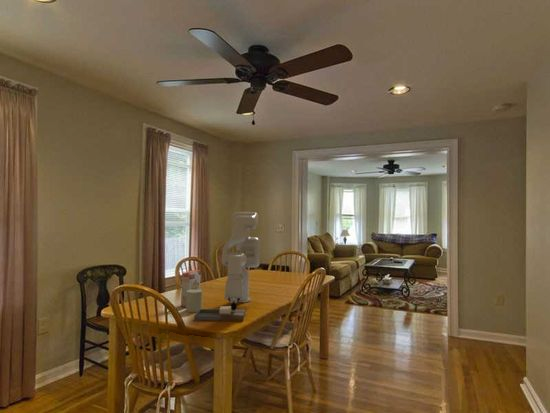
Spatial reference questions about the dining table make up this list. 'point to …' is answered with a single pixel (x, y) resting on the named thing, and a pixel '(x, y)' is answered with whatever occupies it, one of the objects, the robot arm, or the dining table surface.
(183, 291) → the cracker box
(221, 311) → the tile
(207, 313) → the box
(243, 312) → the brown sliding lid
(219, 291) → the dining table surface
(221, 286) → the dining table surface
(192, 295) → the can
